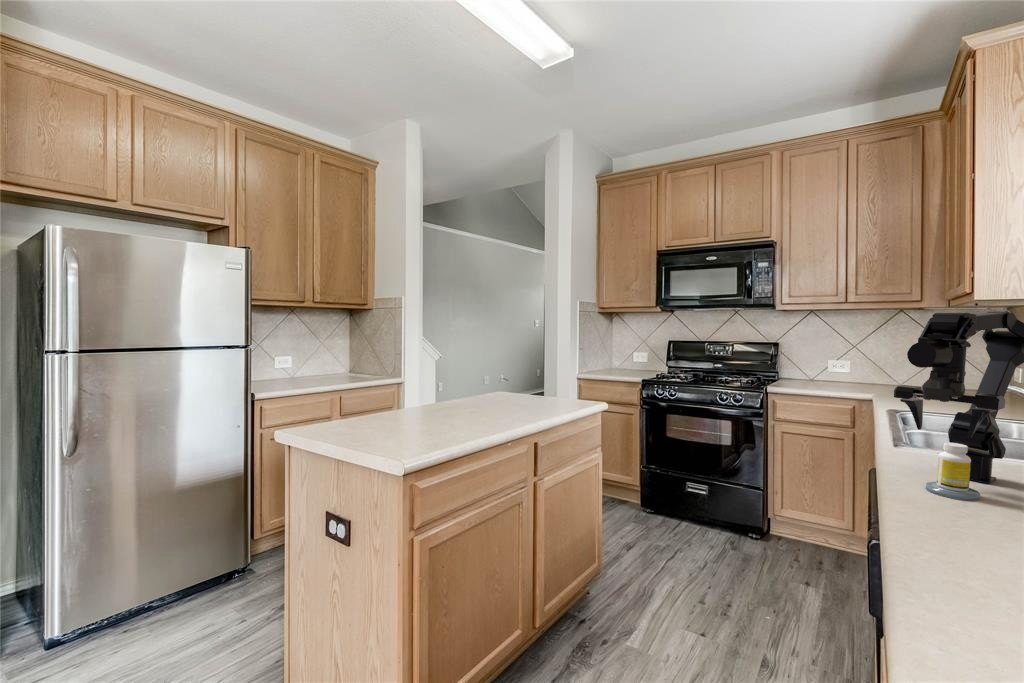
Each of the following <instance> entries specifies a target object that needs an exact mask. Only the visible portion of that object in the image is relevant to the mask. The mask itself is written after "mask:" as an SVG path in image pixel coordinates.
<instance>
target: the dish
mask: <svg viewBox="0 0 1024 683" xmlns="http://www.w3.org/2000/svg"><path fill="white" fill-rule="evenodd" d="M925 489H926V491H928V492H930V493H931V494H934V495H938V496H941V497H944V498H949V499H953V500H958V501H971V502H973V501H974V502H975V501H980V499H981V492H979V491H978V490H975V489H973V488H970V487H969V490H968V491H966V492H960V491H952V490H948V489H944V488H942V487H939V486H938V485H937V481H929V482H926V483H925Z"/></svg>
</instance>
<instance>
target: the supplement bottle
mask: <svg viewBox="0 0 1024 683" xmlns="http://www.w3.org/2000/svg"><path fill="white" fill-rule="evenodd" d="M943 450H944V451H941V452H939V454H938V457H937V458H938V461H937V471H936V472H937V473H936V482H937V485H938V486H939V487H942V488H944V489H948V490H952V491H960V492H966V491H968V490H969V488H970V481H971V480H970V468H971V459H970V457H969V456H967V455H966V453H967V452H968V446H966V445H963V444H958V443H950V442H944V443H943Z"/></svg>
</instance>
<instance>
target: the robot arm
mask: <svg viewBox="0 0 1024 683" xmlns="http://www.w3.org/2000/svg"><path fill="white" fill-rule="evenodd" d="M931 316H932V317H930V318H929V319H928V320H927V321H928V322H927V323H926V325H925V326H924V329H923V331H922V332H921V334H920V335H919V337H918V339H917V342H916V343H913V344H912V345H911V346H910V347H909V349H908V351H907V354H906V355H907V359H908V361H909V363H910V364H911V365H913V366H915V367H917V368H920V369H921V368H923V369H924V368H931V370H930V373H929V377H928V379H927V380H926V381H925V382H924V383H923V384H922V385H921V386H916V385H908V384H907V385H906V384H904V385H898V386H895V388H894V390H893V398H896V399H899V402H901V403H904V404H905V405H906V406H907V407H908V408H909V410H910V412H911V414H912V418H913V421H914V422H915V426H916V428H917V430H922V427H923V416H924V414H923V413H924V411H923V410H924V400H925V401H926V400H927V401H931V400H934V401H939V402H942V403H948V402H953V403H954V402H957V403H964V404H971V405H970V407H969V409H968V410H966V411H965V412H962V411H957V412H956V413H955V416H954V418H953V421H952V423H951V424H950V427H949V429H948V432H947V435H948V443H958V444H963V445H966V446H968V452H967V453H966V455H967V456H969V457H970V459H971V468H970V481H975V482H979V483H984V484H991V483H993V482H994V481H996V480H997V477H996V476H992V473H993V472H992V471H993V461H994V460H995V459H999V460H1002V459H1003V458H1004V457H1005V455H1006V451H1007V448H1006V446H1005V444H1004V443H1003V441H1002V439H1001V437H1000V436H999V435H1000V433H1001V432H1000V431H1001V430H1000V428H999V425H998V423H997V421H996V418H997V415H998V412H999V411H1000V410H1003V409H1005V406H1006V399H1005V395H1006V393H1007V390H1008V388H1009V386H1010V384H1011V381H1012V378H1013V376H1014V373H1015V371H1016V369H1017V367H1019V366H1020V365H1023V364H1024V322H1023V321H1021V320H1020V319H1018V318H1017V316H1016V314H1014V313H1013V312H1010V311H988V312H982V313H981V312H980V313H970V312H935V313H933V314H932V315H931ZM994 329H1007V330H995V331H994ZM978 331H984V332H983V334H982V336H981V338H982V339H983V342H985V344H986V346H985V350H986V352H987V355H988V357H989V362H988V364H987V367H986V369H985V371H984V372H983V373H984V374H983V375H982V378H981V380H980V383H979V386H978V388H977V390H976V392H975V395H971V394H966V386H965V377H966V375H967V374H966V372H967V371H966V361H967V360H966V359H967V358H966V357H967V348H970V347H972V345H971V343H970V342H969V341H967V339H969V338H970V337H972V336H975V335H976V334H977V332H978ZM920 398H921V399H920ZM993 459H994V460H993Z"/></svg>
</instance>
